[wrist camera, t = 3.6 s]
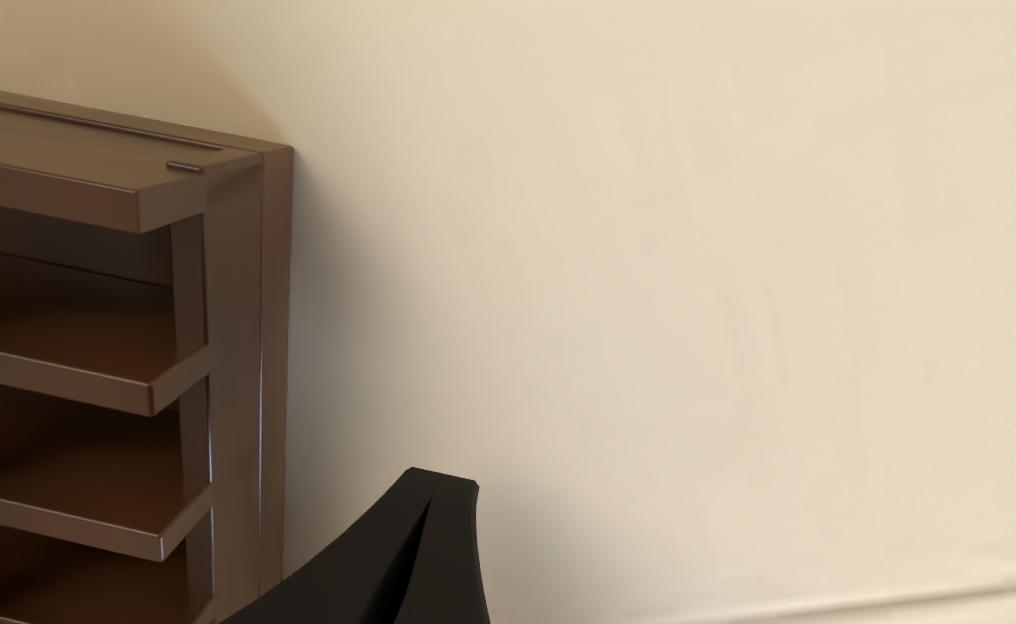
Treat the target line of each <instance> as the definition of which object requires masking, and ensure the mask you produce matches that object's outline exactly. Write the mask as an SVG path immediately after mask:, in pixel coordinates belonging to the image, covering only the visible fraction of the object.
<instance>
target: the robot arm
mask: <svg viewBox="0 0 1016 624" xmlns="http://www.w3.org/2000/svg"><path fill="white" fill-rule="evenodd" d="M478 492H479V486H478V484H477V483H476V482H475V481H474V480H470V479H465V478H461V477H456V476H452V475H447V474H443V473H438V472H433V471H429V470H424V469H420V468H415V467H411V468H409V469H407V470H406V471H405V472H404V473H403V474H402V475H401V476H400V478H399V479H398V480H397V481H396V482H395V483H394V484H393V485H392V486H391V487H390V488H389V489H388V490H387V492H386V493H385V494H384V495H383V496H382V497H381V498H380V499H379V500H378V501H377V502H376V503H375V504H374V505H373V506H372V507H370V508H369V509H368V510H367V511H366V512H365V513H364V514H363V515H362V516H361V517H360V518H359V519H358V520H356V521H355V522H354V523H353V524H352V525H351V526H350V527H349V528H348V529H347V530H346V531H344V532H343V533H342V534H341V535H340V536H339V537H338V538H336V539H335V540H334V541H333V542H332V543H330V544H329V545H328V546H327V547H326V548H324V549H323V550H322V551H321V552H319V553H318V554H317V555H316V556H314V557H313V558H312V559H311V560H310V561H308V562H307V563H306V564H305V565H303V566H302V567H301V568H299V569H298V570H297V571H295V572H294V573H293V574H291V575H290V576H289V577H287V578H286V579H285V580H283V581H282V582H281V583H279V584H278V585H276V586H275V587H273V588H272V589H271V590H269V591H268V592H266V593H265V594H263V595H262V596H260V597H259V598H257V599H256V600H254V601H253V602H251V603H250V604H248V605H247V606H245V607H243V608H242V609H240V610H239V611H237V612H235V613H234V614H232V615H231V616H229V617H227V618H226V619H224V620H223V621H221V622H219V623H218V624H491V623H490V619H489V614H488V610H487V605H486V600H485V594H484V589H483V583H482V577H481V571H480V562H479V554H478V546H477V533H476V504H477V498H478Z"/></svg>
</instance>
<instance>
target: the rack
mask: <svg viewBox="0 0 1016 624" xmlns="http://www.w3.org/2000/svg"><path fill="white" fill-rule="evenodd" d="M292 176H293V147H291V146H290V145H285V144H280V143H274V142H269V141H264V140H258V139H253V138H248V137H242V136H237V135H232V134H226V133H221V132H216V131H210V130H205V129H200V128H195V127H189V126H184V125H179V124H173V123H168V122H163V121H157V120H152V119H147V118H141V117H136V116H131V115H125V114H120V113H115V112H109V111H104V110H99V109H93V108H88V107H83V106H77V105H72V104H67V103H62V102H56V101H51V100H46V99H40V98H35V97H30V96H24V95H19V94H14V93H8V92H3V91H0V624H218V623H219V622H221V621H223V620H224V619H226V618H227V617H229V616H231V615H232V614H234V613H235V612H237V611H239V610H240V609H242V608H243V607H245V606H247V605H248V604H250V603H251V602H253V601H254V600H256V599H257V598H259V597H260V596H262V595H263V594H265V593H266V592H268V591H269V590H271V589H272V588H273V587H275V586H276V585H278V584H279V583H281V565H282V530H283V494H284V459H285V424H286V388H287V353H288V318H289V282H290V247H291V212H292Z"/></svg>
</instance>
